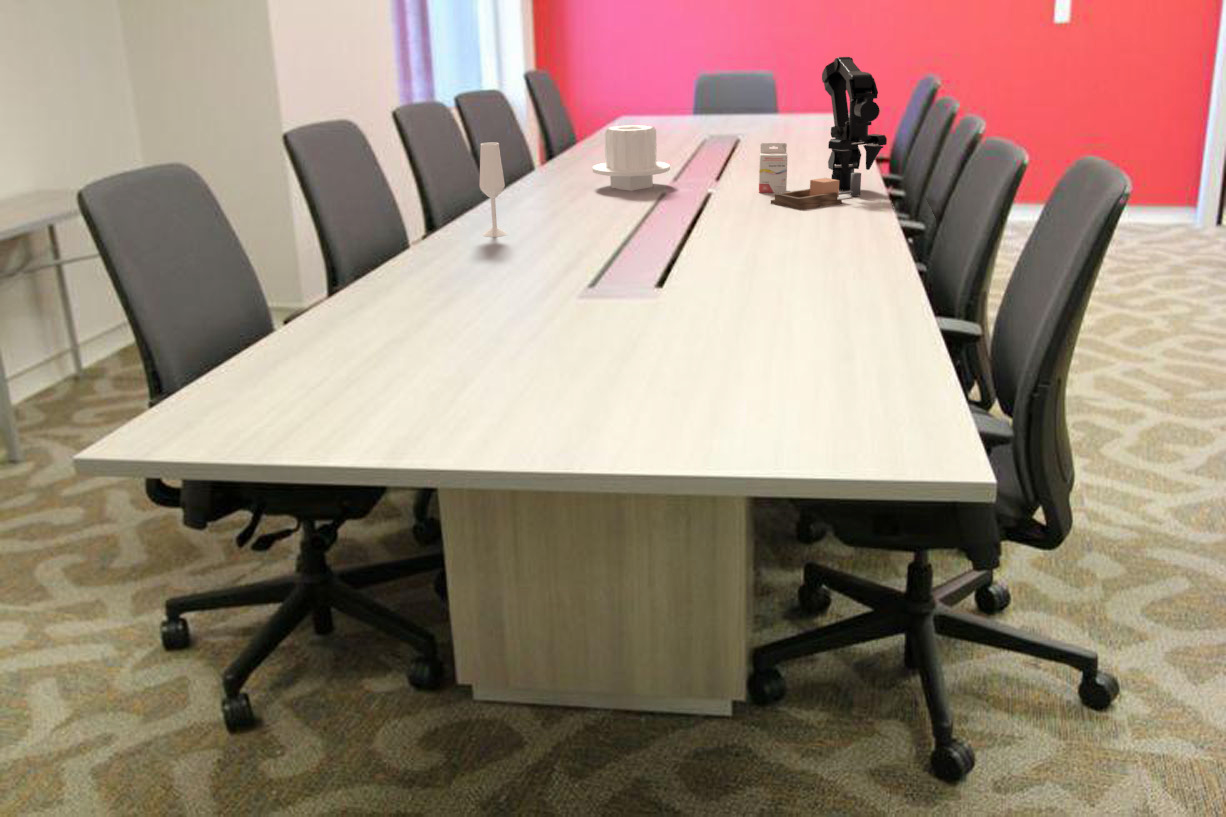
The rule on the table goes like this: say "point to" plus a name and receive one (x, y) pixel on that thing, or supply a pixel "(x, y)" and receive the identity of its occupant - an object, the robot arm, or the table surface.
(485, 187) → the champagne flute
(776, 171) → the ink cartridge box
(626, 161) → the flanged gear
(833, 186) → the tethered block
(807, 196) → the wooden tray
